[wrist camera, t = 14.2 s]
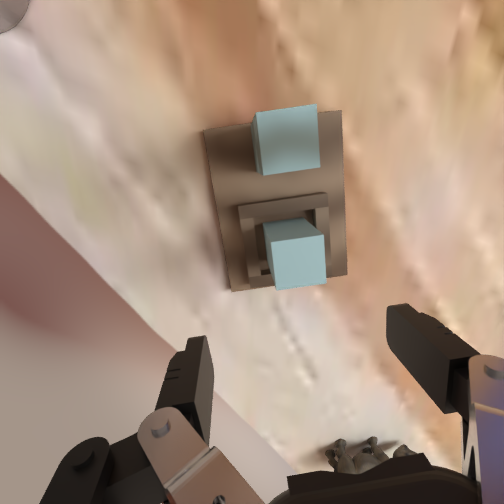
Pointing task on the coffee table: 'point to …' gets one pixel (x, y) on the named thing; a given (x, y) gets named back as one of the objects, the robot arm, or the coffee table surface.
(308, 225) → the teal block
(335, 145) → the walnut board
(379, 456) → the rhino figurine
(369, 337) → the coffee table surface
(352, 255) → the coffee table surface
